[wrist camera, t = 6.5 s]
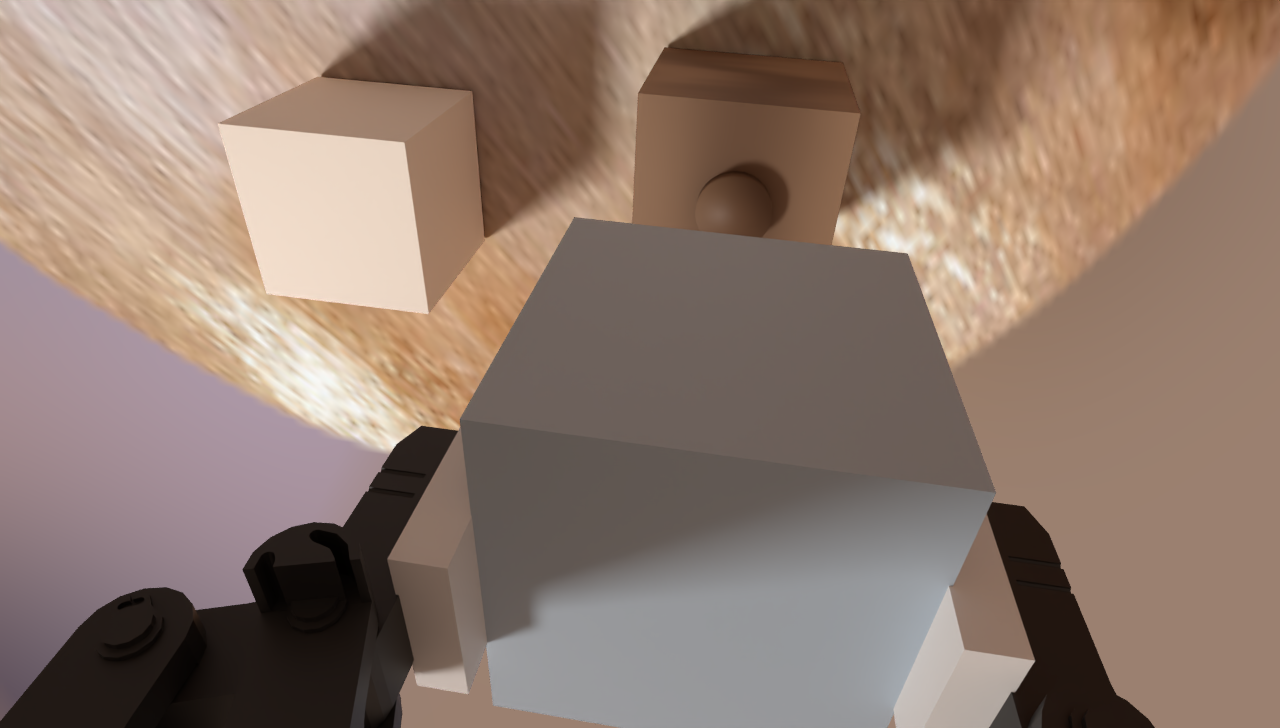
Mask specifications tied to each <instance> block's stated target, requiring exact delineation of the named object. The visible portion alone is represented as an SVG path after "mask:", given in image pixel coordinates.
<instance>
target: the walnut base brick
mask: <svg viewBox="0 0 1280 728" xmlns="http://www.w3.org/2000/svg"><path fill="white" fill-rule="evenodd" d="M860 115H861V113H860V110H859V107H858V104H857V101H856V99H855V96H854V93H853V90H852V87H851V84H850V82H849V79H848V76H847V73H846V70H845V67H844V65H843V63H842V62H830V61H819V60H807V59H795V58H783V57H771V56H760V55H748V54H736V53H724V52H713V51H701V50H689V49H677V48H664V50H663V51H662V53H661V55H660V56H659V58H658V60H657V62H656V63H655V65H654V67H653V69H652V70H651V72H650V74H649V75H648V77H647V79H646V81H645V82H644V84H643V86H642V87H641V89H640V91H639V93H638V107H637V129H636V151H635V173H634V195H633V217H632V224H640V225H649V226H658V227H667V228H677V229H686V230H695V231H704V232H713V233H722V234H732V235H741V236H750V237H759V238H768V239H778V240H787V241H796V242H805V243H814V244H823V245H832V240H833V236H834V231H835V227H836V223H837V218H838V214H839V209H840V205H841V200H842V196H843V191H844V187H845V182H846V178H847V173H848V169H849V164H850V160H851V155H852V151H853V146H854V142H855V137H856V133H857V128H858V124H859V119H860Z"/></svg>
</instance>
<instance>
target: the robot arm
mask: <svg viewBox="0 0 1280 728" xmlns="http://www.w3.org/2000/svg"><path fill="white" fill-rule="evenodd" d="M1060 565H1061V562H1060V560H1059V558H1058V555H1057V552H1056V550H1055V548H1054V545H1053V543H1052V540H1051V538H1050V536H1049V534H1048V533H1047V531H1046V530H1045V529H1044V528H1043V527H1042V526H1041V525H1040V524H1039V523H1038V521H1037V520H1036V519H1035V518H1034V517H1033V516H1032V515H1031V514H1030V512H1029V511H1028V510H1027V509H1026V508H1025V507H1024V506H1017V505H1009V504H1002V503H994V502H992V503H991V505H990V507H989V509H988V511H987V514H986V516H985V518H984V520H983V522H982V524H981V527H980V529H979V531H978V533H977V535H976V537H975V540H974V542H973V544H972V546H971V548H970V550H969V552H968V555H967V557H966V559H965V561H964V563H963V565H962V568H961V570H960V572H959V574H958V576H957V578H956V580H955V583H954V585H953V586H948V589H947V591H946V593H945V595H944V598H943V600H942V602H941V604H940V606H939V609H938V611H937V613H936V615H935V618H934V620H933V622H932V624H931V626H930V629H929V631H928V633H927V635H926V638H925V640H924V642H923V644H922V646H921V649H920V651H919V653H918V655H917V657H916V660H915V662H914V664H913V666H912V669H911V671H910V673H909V675H908V677H907V680H906V682H905V684H904V686H903V689H902V691H901V693H900V695H899V697H898V700H897V702H896V704H895V706H894V709H893V710H894V716H895V724H896V728H1155V727H1154V726H1153V725H1152V723H1151V722H1150V721H1149V719H1148V718H1146V717H1145V716H1144V715H1143V714H1142V713H1140V712H1139V711H1138V710H1137V709H1136V708H1135V707H1134V706H1133V705H1131V704H1130V703H1129V702H1128V701H1126V700H1125V699H1123V698H1121V697H1119V696H1117V695H1116V693H1115V691H1114V689H1113V687H1112V685H1111V683H1110V681H1109V678H1108V676H1107V674H1106V671H1105V669H1104V666H1103V664H1102V661H1101V659H1100V657H1099V654H1098V652H1097V649H1096V647H1095V644H1094V642H1093V640H1092V638H1091V635H1090V632H1089V630H1088V628H1087V625H1086V623H1085V620H1084V618H1083V616H1082V613H1081V611H1080V608H1079V606H1078V603H1077V601H1076V599H1075V596H1074V594H1071V592H1070V589H1071V586H1070V584H1069V582H1068V579H1067V577H1066V575H1065V572H1064V570H1063V569H1061V568H1060ZM243 572H244V574H245V577H246V579H247V581H248V583H249V586H250V588H251V591H252V593H253V596H254V598H255V600H256V602H253V603H248V604H240V605H232V606H225V607H218V608H209V609H202V610H195V608H194V606H193V604H192V603H191V602H190V601H189V599H188V598H187V597H186V596H185V595H184V594H183V593H182V592H179V591H176V590H173V589H170V588H166V587H164V588H148V589H142V590H139V591H135V592H132V593H129V594H126V595H123V596H120V597H119V598H117V599H115V600H113V601H112V602H110V603H108V604H106V605H105V606H103V607H101V608H100V609H98V610H97V611H96V612H94V613H93V614H92V615H91V616H90V617H89V618H88V619H87V620H86V621H85V622H84V623H83V624H82V625H80V626H79V627H78V629H77V630H76V631H75V632H74V633H73V635H72V636H71V637H70V638H69V639H68V641H67V642H66V643H65V644H64V646H63V647H62V648H61V649H60V650H59V651H58V653H57V654H56V655H55V656H54V658H53V659H52V660H51V661H50V662H49V663H48V665H47V666H46V667H45V668H44V670H43V671H42V672H41V673H40V674H39V675H38V677H37V678H36V679H35V680H34V681H33V683H32V684H31V685H30V686H29V687H28V689H27V690H26V691H25V692H24V694H23V695H22V696H21V697H20V698H19V699H18V701H17V702H16V703H15V704H14V706H13V707H12V708H11V709H10V710H9V712H8V713H7V714H6V715H5V716H4V718H3V719H2V720H1V721H0V728H401V719H402V707H401V697H400V694H399V692H400V690H401V688H402V686H403V684H404V681H405V679H406V677H407V675H408V672H409V670H410V668H411V666H412V665H413V669H414V673H415V677H416V682H417V685H419V686H424V687H430V688H436V689H442V690H448V691H454V692H460V693H465V694H469V691H470V689H471V686H472V683H473V681H474V678H475V675H476V672H477V669H478V667H479V664H480V661H481V659H482V656H483V653H484V650H485V648H486V645H487V636H486V628H485V620H484V611H483V603H482V595H481V587H480V579H479V571H478V563H477V555H476V546H475V538H474V530H473V522H472V516H471V511H470V503H469V494H468V485H467V477H466V468H465V460H464V451H463V443H462V434H461V427H460V429H459V431H456V430H448V429H441V428H434V427H426V426H421V427H419V428H418V429H417V430H415V431H414V432H413V433H411V434H410V435H409V436H407V437H406V438H405V439H403V440H402V441H400V442H399V443H398V444H397V445H396V446H395V448H394V449H393V451H392V452H391V454H390V455H389V457H388V458H387V460H386V462H385V463H384V465H383V466H382V470H381V472H378V474H377V475H376V477H375V479H374V480H373V482H372V483H371V485H370V486H369V491H368V492H365V494H364V495H363V497H362V498H361V500H360V502H359V503H358V505H357V506H356V508H355V509H354V511H353V512H352V514H351V515H350V517H349V519H348V520H347V522H346V523H345V525H344V526H343V527H340V526H338V525H336V524H331V523H316V522H313V523H308V524H304V525H300V526H295V527H291V528H289V529H287V530H285V531H283V532H281V533H278V534H276V535H275V536H272V537H271V538H269V539H268V540H267V541H266V542H264V543H263V544H262V545H261V546H260V547H259V548H257V549H256V550H255V551H254V552H253V553H252V555H251V556H250V558H249V560H248V561H247V563H246V565H245V567H244V568H243Z"/></svg>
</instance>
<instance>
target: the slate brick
mask: <svg viewBox="0 0 1280 728" xmlns="http://www.w3.org/2000/svg"><path fill="white" fill-rule="evenodd" d="M460 426H461V434H462V443H463V451H464V460H465V468H466V477H467V485H468V494H469V503H470V511H471V516H472V522H473V530H474V538H475V546H476V555H477V563H478V571H479V579H480V587H481V595H482V603H483V611H484V620H485V628H486V636H487V645H486V648H487V657H488V665H489V674H490V682H491V691H492V699H493V705H494V706H499V707H506V708H511V709H517V710H522V711H529V712H534V713H540V714H546V715H551V716H557V717H563V718H568V719H574V720H580V721H586V722H591V723H597V724H603V725H608V726H615V727H620V728H887V727H888V725H889V723H890V721H891V718H892V716H893V714H894V710H893V709H894V706H895V704H896V702H897V700H898V697H899V695H900V693H901V691H902V689H903V686H904V684H905V682H906V680H907V677H908V675H909V673H910V671H911V669H912V666H913V664H914V662H915V660H916V657H917V655H918V653H919V651H920V649H921V646H922V644H923V642H924V640H925V638H926V635H927V633H928V631H929V629H930V626H931V624H932V622H933V620H934V618H935V615H936V613H937V611H938V609H939V606H940V604H941V602H942V600H943V598H944V595H945V593H946V591H947V589H948V586H953V585H954V583H955V580H956V578H957V576H958V574H959V572H960V570H961V568H962V565H963V563H964V561H965V559H966V557H967V555H968V552H969V550H970V548H971V546H972V544H973V542H974V540H975V537H976V535H977V533H978V531H979V529H980V527H981V524H982V522H983V520H984V518H985V516H986V514H987V511H988V509H989V507H990V505H991V503H992V501H993V498H994V496H995V494H996V492H995V489H994V486H993V483H992V480H991V478H990V475H989V473H988V470H987V467H986V464H985V462H984V459H983V456H982V453H981V451H980V448H979V445H978V443H977V440H976V437H975V435H974V432H973V429H972V427H971V424H970V421H969V418H968V416H967V413H966V410H965V407H964V405H963V402H962V399H961V397H960V394H959V391H958V389H957V386H956V383H955V381H954V378H953V375H952V372H951V370H950V367H949V364H948V361H947V359H946V356H945V353H944V351H943V348H942V345H941V343H940V340H939V337H938V334H937V332H936V329H935V326H934V324H933V321H932V318H931V315H930V313H929V310H928V307H927V305H926V302H925V299H924V297H923V294H922V291H921V288H920V286H919V283H918V280H917V278H916V275H915V272H914V270H913V267H912V264H911V261H910V259H909V256H908V254H906V253H897V252H888V251H879V250H869V249H860V248H851V247H842V246H833V245H823V244H814V243H805V242H796V241H787V240H778V239H768V238H759V237H750V236H741V235H732V234H722V233H713V232H704V231H695V230H686V229H677V228H667V227H658V226H649V225H640V224H631V223H621V222H612V221H603V220H594V219H585V218H576V217H574V219H573V221H572V223H571V224H570V226H569V228H568V230H567V231H566V233H565V235H564V237H563V238H562V240H561V242H560V244H559V245H558V247H557V249H556V251H555V252H554V254H553V256H552V258H551V260H550V261H549V263H548V265H547V267H546V268H545V270H544V272H543V274H542V275H541V277H540V279H539V281H538V282H537V284H536V286H535V288H534V289H533V291H532V293H531V295H530V297H529V298H528V300H527V302H526V304H525V305H524V307H523V309H522V311H521V312H520V314H519V316H518V318H517V319H516V321H515V323H514V325H513V326H512V328H511V330H510V332H509V334H508V335H507V337H506V339H505V341H504V342H503V344H502V346H501V348H500V349H499V351H498V353H497V355H496V356H495V358H494V360H493V362H492V363H491V365H490V367H489V369H488V371H487V372H486V374H485V376H484V378H483V379H482V381H481V383H480V385H479V386H478V388H477V390H476V392H475V393H474V395H473V397H472V399H471V400H470V402H469V404H468V406H467V408H466V409H465V411H464V413H463V415H462V416H461V418H460Z"/></svg>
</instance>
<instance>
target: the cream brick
mask: <svg viewBox="0 0 1280 728" xmlns="http://www.w3.org/2000/svg"><path fill="white" fill-rule="evenodd" d="M218 127H219V130H220V134H221V137H222V141H223V144H224V148H225V151H226V155H227V158H228V162H229V165H230V169H231V172H232V176H233V179H234V182H235V186H236V189H237V193H238V196H239V200H240V203H241V207H242V210H243V214H244V217H245V221H246V224H247V228H248V231H249V235H250V238H251V241H252V245H253V248H254V252H255V255H256V259H257V262H258V266H259V269H260V273H261V276H262V280H263V283H264V287H265V290H266V294H271V295H279V296H287V297H295V298H304V299H312V300H320V301H328V302H336V303H344V304H352V305H360V306H368V307H376V308H384V309H392V310H401V311H409V312H417V313H425V314H429V313H430V312H431V310H432V309H433V308H434V306H435V305H436V304H437V302H438V301H439V300H440V298H441V297H442V296H443V295H444V293H445V292H446V291H447V289H448V288H449V287H450V285H451V284H452V283H453V281H454V280H455V279H456V278H457V276H458V275H459V274H460V272H461V271H462V270H463V268H464V267H465V266H466V264H467V263H468V262H469V260H470V259H471V258H472V257H473V255H474V254H475V253H476V251H477V250H478V249H479V247H480V246H481V245H482V243H483V242H484V241H485V239H484V226H483V214H482V202H481V190H480V178H479V166H478V154H477V142H476V130H475V118H474V106H473V94H472V91H465V90H454V89H444V88H433V87H422V86H411V85H401V84H390V83H379V82H368V81H358V80H347V79H336V78H325V77H316V78H314V79H312V80H310V81H308V82H306V83H303V84H301V85H299V86H297V87H295V88H293V89H291V90H288V91H286V92H284V93H282V94H280V95H278V96H276V97H273V98H271V99H269V100H267V101H265V102H263V103H261V104H259V105H256V106H254V107H252V108H250V109H248V110H246V111H244V112H241V113H239V114H237V115H235V116H233V117H231V118H229V119H226V120H224V121H222V122H220V123H218Z"/></svg>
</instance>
